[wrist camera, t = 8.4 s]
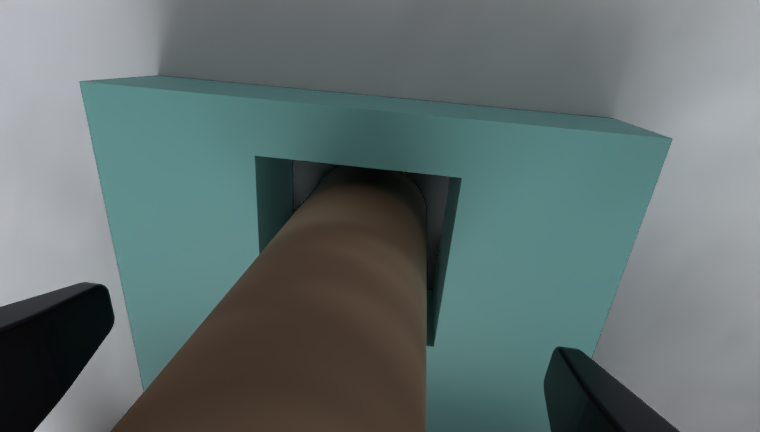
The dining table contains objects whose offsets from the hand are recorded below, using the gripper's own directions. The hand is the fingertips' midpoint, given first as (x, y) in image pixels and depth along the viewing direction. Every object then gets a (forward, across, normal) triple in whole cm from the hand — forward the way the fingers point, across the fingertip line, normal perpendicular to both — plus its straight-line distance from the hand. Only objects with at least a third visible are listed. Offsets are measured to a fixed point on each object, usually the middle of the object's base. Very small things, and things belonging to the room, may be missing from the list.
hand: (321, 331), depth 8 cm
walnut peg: (+6, 0, 0) cm, 6 cm away
